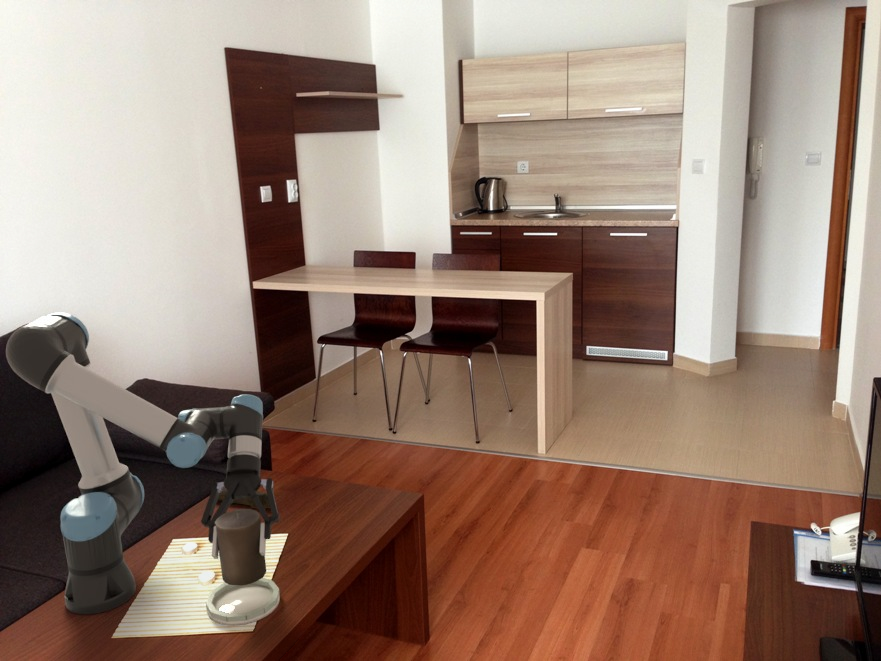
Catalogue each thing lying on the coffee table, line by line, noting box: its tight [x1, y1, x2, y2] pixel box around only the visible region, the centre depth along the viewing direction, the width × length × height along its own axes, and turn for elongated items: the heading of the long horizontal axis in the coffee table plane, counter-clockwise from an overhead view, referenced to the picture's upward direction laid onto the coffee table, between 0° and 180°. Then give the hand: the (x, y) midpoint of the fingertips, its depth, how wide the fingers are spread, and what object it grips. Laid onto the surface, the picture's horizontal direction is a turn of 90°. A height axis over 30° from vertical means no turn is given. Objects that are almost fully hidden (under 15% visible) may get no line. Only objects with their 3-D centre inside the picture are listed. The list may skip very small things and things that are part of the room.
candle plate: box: [205, 577, 281, 626], centre depth 177 cm, size 16×16×2 cm
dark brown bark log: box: [217, 488, 271, 510], centre depth 225 cm, size 19×4×5 cm, turn 66°
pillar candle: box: [215, 508, 267, 586], centre depth 173 cm, size 10×10×15 cm
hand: (238, 555), depth 171 cm, fingers closed on pillar candle, 9 cm apart
